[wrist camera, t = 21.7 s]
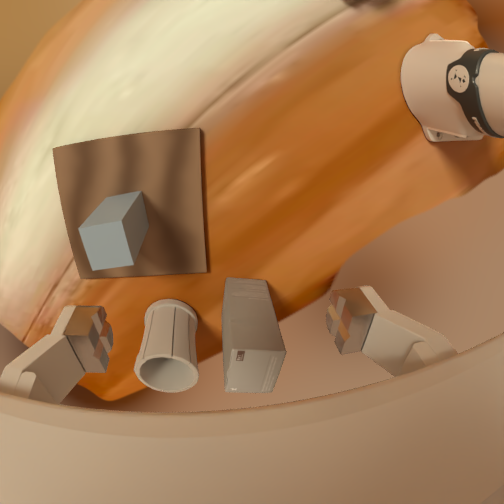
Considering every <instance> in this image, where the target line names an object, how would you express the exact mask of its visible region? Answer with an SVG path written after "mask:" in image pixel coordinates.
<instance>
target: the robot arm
mask: <svg viewBox="0 0 504 504" xmlns="http://www.w3.org/2000/svg"><path fill="white" fill-rule="evenodd" d="M401 85H402V90H403V94H404V97H405V100H406V102H407V105H408V107H409V108H410V110H411V112H412V113H413V115H414V116H415V117H416V118H417V119H418V121H419V122H420V123H421V125H422V128H423V131H424V134H425V136H426V138H427V140H429V141H432V142H440V141H463V140H481V139H482V138H483V136H484V135H487V136H490V137H495V138H504V53H499V52H497V51H495V50H491V49H486V48H477V49H475V48H474V47H473V46H471V45H470V44H469V43H468V42H467V41H459V40H445V39H443V38H442V37H441V36H439V35H438V34H429V35H428V37H427V38H426V39H425V41H424V42H423V43H421V44H418V45H416V46H414V47H412V48H411V49H410V50H409V51H408V52H407V54H406V56H405V58H404V60H403V63H402V68H401ZM329 300H330V302H331V303H332V305H331V306H330V307H329V308H328V309H327V314H326V322H327V327H328V330H329V332H330V333H331V334H332V335H334V336H335V337H336V338H335V344H336V346H337V348H338V350H339V352H340V354H347V353H353V352H358V351H362V353H363V354H365V355H366V356H367V357H369V358H370V359H372V360H373V361H374V362H376V363H377V364H378V365H380V366H381V367H382V368H384V369H385V370H387V371H388V372H389V373H391V374H392V375H393V376H395V377H394V378H391V379H387V380H384V381H381V382H377V383H374V384H370V385H367V386H363V387H359V388H355V389H351V390H347V391H343V392H338V393H334V394H329V395H325V396H320V397H315V398H310V399H305V400H299V401H293V402H287V403H281V404H274V405H267V406H259V407H250V408H241V409H230V410H218V411H201V412H130V411H129V412H128V411H113V410H101V409H91V408H82V407H73V406H66V405H60V404H59V403H60V402H61V401H62V400H63V399H64V397H65V396H66V395H67V394H68V393H69V392H70V390H71V389H72V388H73V387H74V386H75V385H76V384H77V382H78V381H79V380H80V379H81V378H82V377H83V376H84V374H85V372H98V373H106V370H107V366H108V362H109V357H108V355H107V353H108V352H109V351H111V350H112V346H113V332H112V328H111V325H110V324H109V323H108V322H107V321H105V319H106V316H107V314H106V312H105V309H104V307H102V306H66V307H64V309H63V311H62V312H61V314H60V316H59V318H58V320H57V322H56V324H55V326H54V328H53V330H52V332H51V335H46V336H45V337H43V338H42V339H41V340H39V341H38V342H37V343H35V344H34V345H33V346H31V347H30V348H29V349H28V350H26V351H25V352H24V353H22V354H21V355H20V356H18V357H17V358H16V359H15V360H13V361H12V362H11V363H10V364H8V365H7V366H6V367H5V369H4V371H3V373H2V375H1V377H0V504H504V332H503V333H502V334H500V335H498V336H496V337H494V338H492V339H490V340H488V341H486V342H484V343H482V344H480V345H477V346H475V347H473V348H471V349H468V350H466V351H464V352H462V353H459V354H458V353H457V351H456V350H455V349H454V348H453V347H452V345H451V344H450V343H449V341H448V340H447V339H446V337H445V336H444V335H443V334H442V333H440V332H437V331H435V330H433V329H431V328H429V327H427V326H425V325H423V324H421V323H419V322H417V321H415V320H413V319H411V318H409V317H407V316H405V315H403V314H401V313H398V312H396V311H394V310H391V311H390V310H389V309H388V307H387V306H386V305H385V303H384V302H383V301H382V299H381V298H380V297H379V296H378V294H377V293H376V292H375V291H374V289H373V288H372V287H371V286H369V285H367V286H361V287H357V288H349V289H342V290H333V291H332V293H331V295H330V299H329Z"/></svg>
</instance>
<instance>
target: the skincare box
mask: <svg viewBox="0 0 504 504" xmlns="http://www.w3.org/2000/svg"><path fill="white" fill-rule="evenodd" d="M222 341H223V362H224V363H223V366H224V385H225V391H226V392H244V393H248V392H249V393H268V392H272V391H273V388H274V386H275V383H276V380H277V378H278V375H279V373H280V370H281V367H282V364H283V361H284V358H285V355H286V350H285V346H284V343H283V339H282V336H281V333H280V329H279V325H278V321H277V318H276V314H275V311H274V307H273V304H272V300H271V296H270V293H269V289H268V286H267V282H266V281H265V280H255V279H241V278H226V283H225V291H224V299H223V308H222Z"/></svg>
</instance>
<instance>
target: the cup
mask: <svg viewBox="0 0 504 504" xmlns="http://www.w3.org/2000/svg"><path fill="white" fill-rule="evenodd" d="M144 319H145V332H144V336H143V341H142V344H141V348H140V352H139V354H138V356H137V359H136V363H135V367H134V371H135V373H136V375H137V377H138V378H139V380H140V381H141V382H142V383H144V384H145V385H146V386H148V387H150V388H152V389H155V390H158V391H162V390H163V392H181V391H184V390H187V389H189V388H191V387H192V386H194V385H195V384H196V382H197V381H198V378H199V372H198V364H197V356H196V346H195V332H196V331H197V325H198V319H197V316H196V313H195V312H194V310H193V309H192V308H191V307H190V306H189V305H187V304H186V303H184V302H181V301H178V300H173V299H164V300H159V301H157V302H155V303H153V304H152V305H151V306H150V307H149V308H148V309H147V311H146V314H145V318H144Z"/></svg>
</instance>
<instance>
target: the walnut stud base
mask: <svg viewBox="0 0 504 504" xmlns="http://www.w3.org/2000/svg"><path fill="white" fill-rule="evenodd" d="M53 157H54V164H55V171H56V178H57V184H58V190H59V195H60V200H61V205H62V210H63V215H64V219H65V224H66V228H67V232H68V236H69V240H70V244H71V248H72V251H73V255H74V259H75V262H76V265H77V269H78V272H79V275H80V278H81V279H87V278H110V277H131V276H151V275H170V274H187V273H204V272H207V266H206V253H205V238H204V222H203V204H202V183H201V156H200V128H191V129H177V130H165V131H154V132H145V133H137V134H129V135H122V136H115V137H108V138H102V139H96V140H90V141H85V142H80V143H75V144H70V145H65V146H60V147H56V148H53ZM136 191H142V196H143V200H144V205H145V210H146V214H147V219H148V223H149V228H148V230H147V233H146V235H145V238H144V240H143V243H142V245H141V248H140V250H139V253H138V255H137V258H136V261H135V263H134V265H130V266H123V267H116V268H108V269H101V270H94V271H93V270H92V268H91V265H90V262H89V259H88V257H87V254H86V251H85V248H84V245H83V242H82V239H81V236H80V232H79V229H78V228H79V227H80V226H81V225H82V224H83V223H84V221H85V220H86V219H87V218H88V217H89V216H90V215H91V214H92V212H93V211H94V210H95V209H96V208H97V207H98V206H99V205H100V204H101V203H102V202H103V201H104V199H105V198H106V197H111V196H116V195H121V194H126V193H131V192H136Z"/></svg>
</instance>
